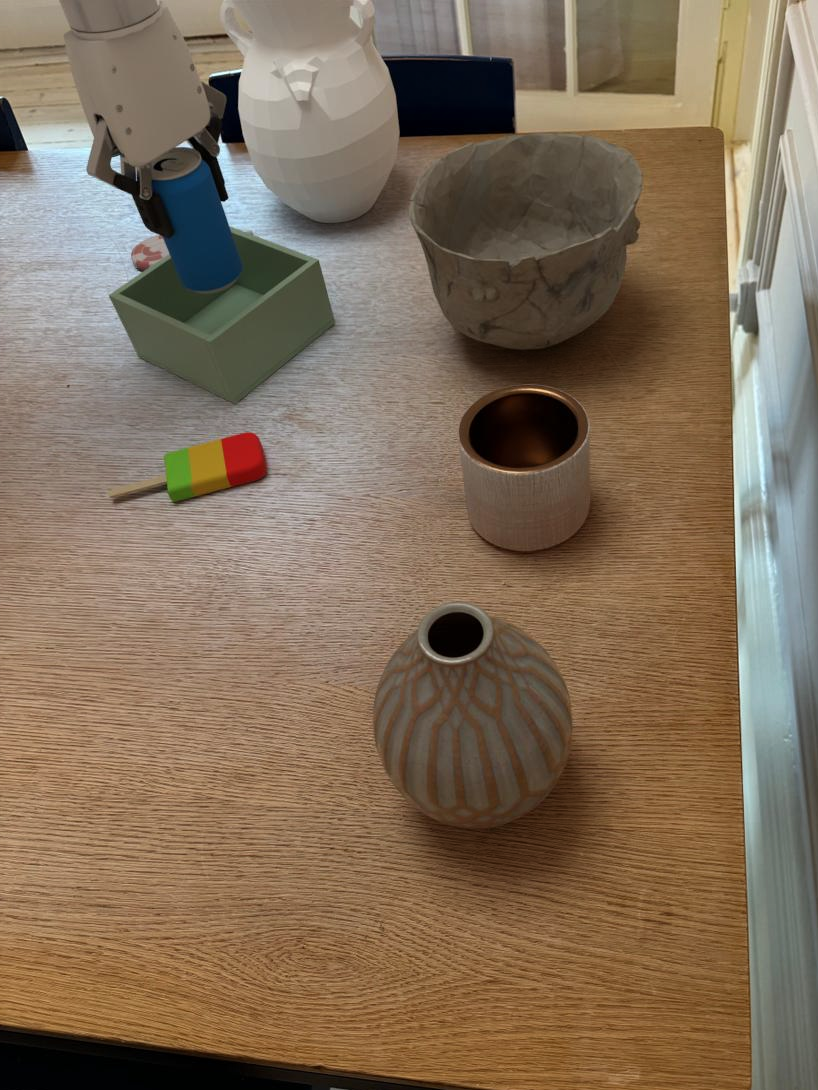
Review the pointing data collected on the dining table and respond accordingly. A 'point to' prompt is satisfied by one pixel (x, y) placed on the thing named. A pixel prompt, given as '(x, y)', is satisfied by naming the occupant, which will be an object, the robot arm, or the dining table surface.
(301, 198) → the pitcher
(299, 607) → the dining table surface
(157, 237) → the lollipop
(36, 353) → the dining table surface
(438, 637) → the vase
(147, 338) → the bin
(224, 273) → the beverage can
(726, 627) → the dining table surface
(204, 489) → the popsicle
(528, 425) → the planter
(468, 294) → the bowl
